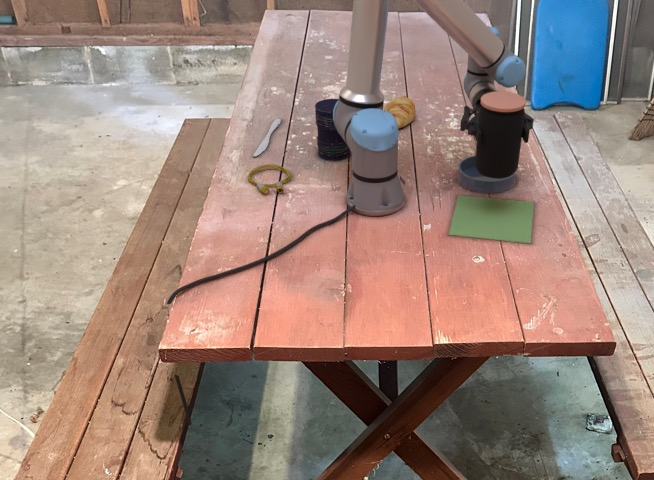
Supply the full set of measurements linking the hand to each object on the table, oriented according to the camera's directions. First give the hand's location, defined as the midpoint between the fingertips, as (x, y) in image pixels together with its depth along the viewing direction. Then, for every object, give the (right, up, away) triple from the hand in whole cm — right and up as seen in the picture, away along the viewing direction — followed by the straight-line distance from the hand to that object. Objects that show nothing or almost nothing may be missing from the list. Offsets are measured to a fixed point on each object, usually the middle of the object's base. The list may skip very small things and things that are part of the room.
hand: (503, 138), depth 165 cm
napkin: (-1, -17, +13) cm, 22 cm away
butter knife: (-64, +12, +51) cm, 83 cm away
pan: (0, -4, +30) cm, 30 cm away
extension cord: (-60, -5, +29) cm, 67 cm away
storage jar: (-43, +6, +42) cm, 61 cm away
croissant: (-24, +22, +63) cm, 70 cm away
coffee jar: (0, -6, +10) cm, 11 cm away
